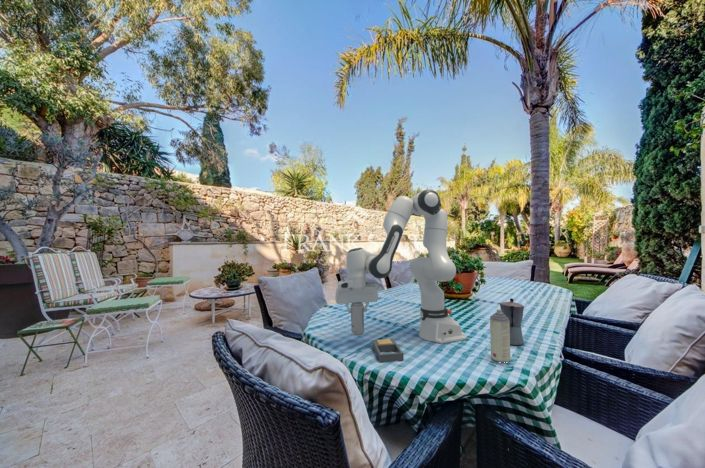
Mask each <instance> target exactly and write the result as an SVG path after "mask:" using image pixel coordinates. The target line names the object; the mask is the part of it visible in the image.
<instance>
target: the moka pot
mask: <svg viewBox="0 0 705 468" xmlns="http://www.w3.org/2000/svg"><path fill="white" fill-rule="evenodd" d="M499 306H500V307H499V308H500V309H501V310H502V312H503V313H504V314H505V315H506V317H508V318H509V325H510V346H511V345H512V346H522V345H524V336H523V331H522V322H523V317H524V309H525V306H524V305H523V304H521V303H519V302H514V298H511V297H510V298H509V301H504V302H503V301H502V302H500V303H499Z"/></svg>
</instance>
